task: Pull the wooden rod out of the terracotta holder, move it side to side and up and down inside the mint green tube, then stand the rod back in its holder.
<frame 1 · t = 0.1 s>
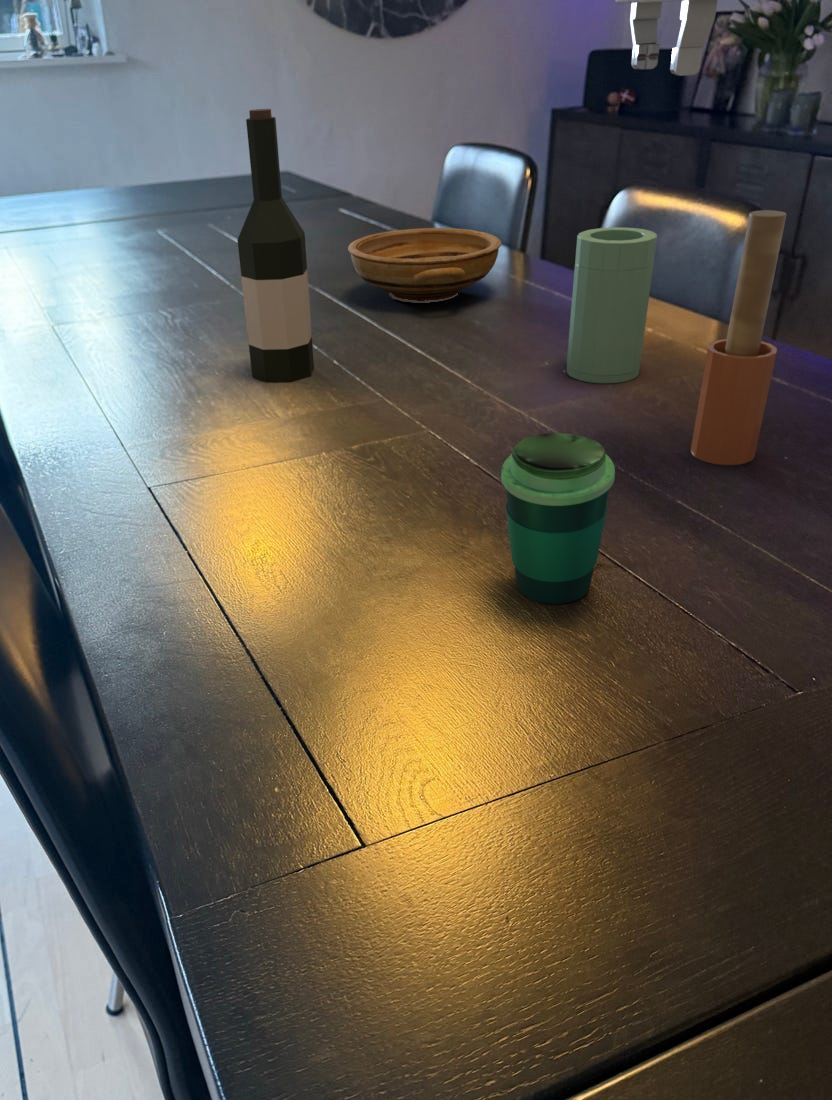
hand: (662, 72, 74), 34 cm above the table, tool pointing down, fingers open, 8 cm apart
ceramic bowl: (424, 296, 151), on the table
wooden rod: (722, 452, 92), point 1 cm above the table, touching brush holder
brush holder: (721, 458, 93), on the table
cup: (547, 594, 73), on the table
wine bottle: (283, 373, 122), on the table
mint green tube: (602, 371, 116), on the table
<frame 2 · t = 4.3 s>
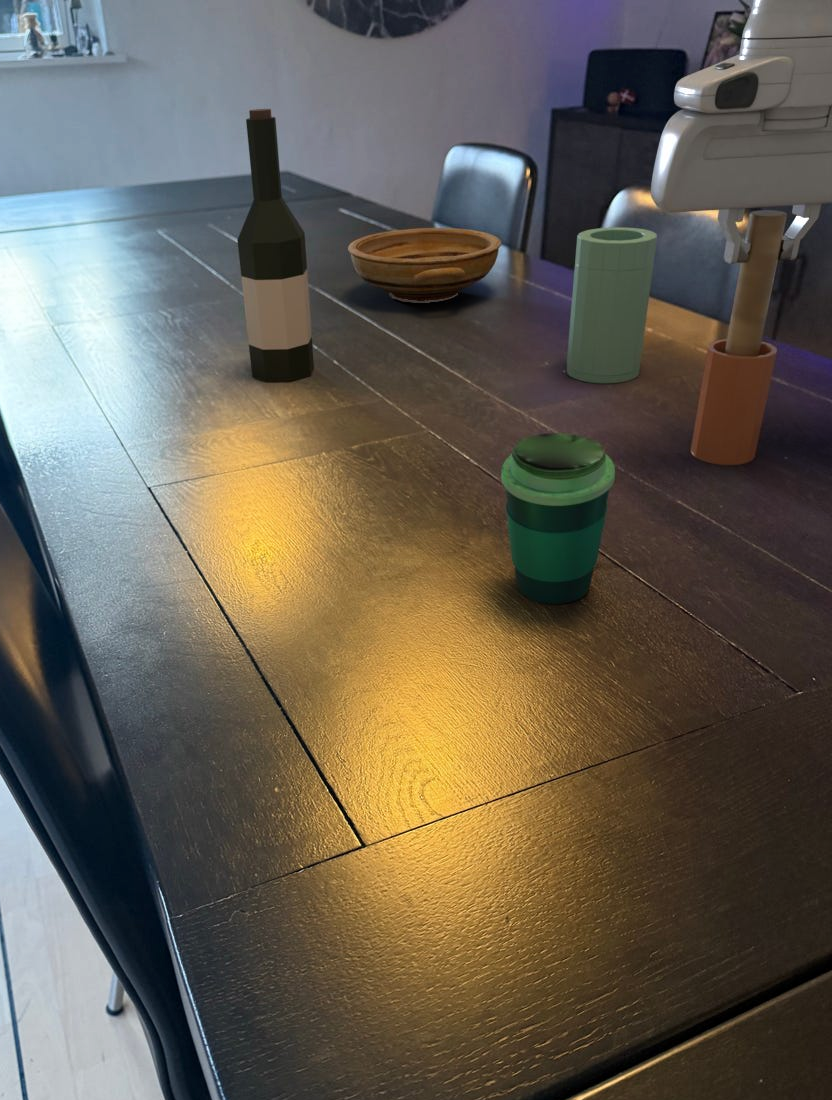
hand: (758, 260, 82), 19 cm above the table, tool pointing down, fingers closed on wooden rod, 3 cm apart
wooden rod: (722, 452, 92), point 1 cm above the table, touching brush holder, gripper
everything else where it was.
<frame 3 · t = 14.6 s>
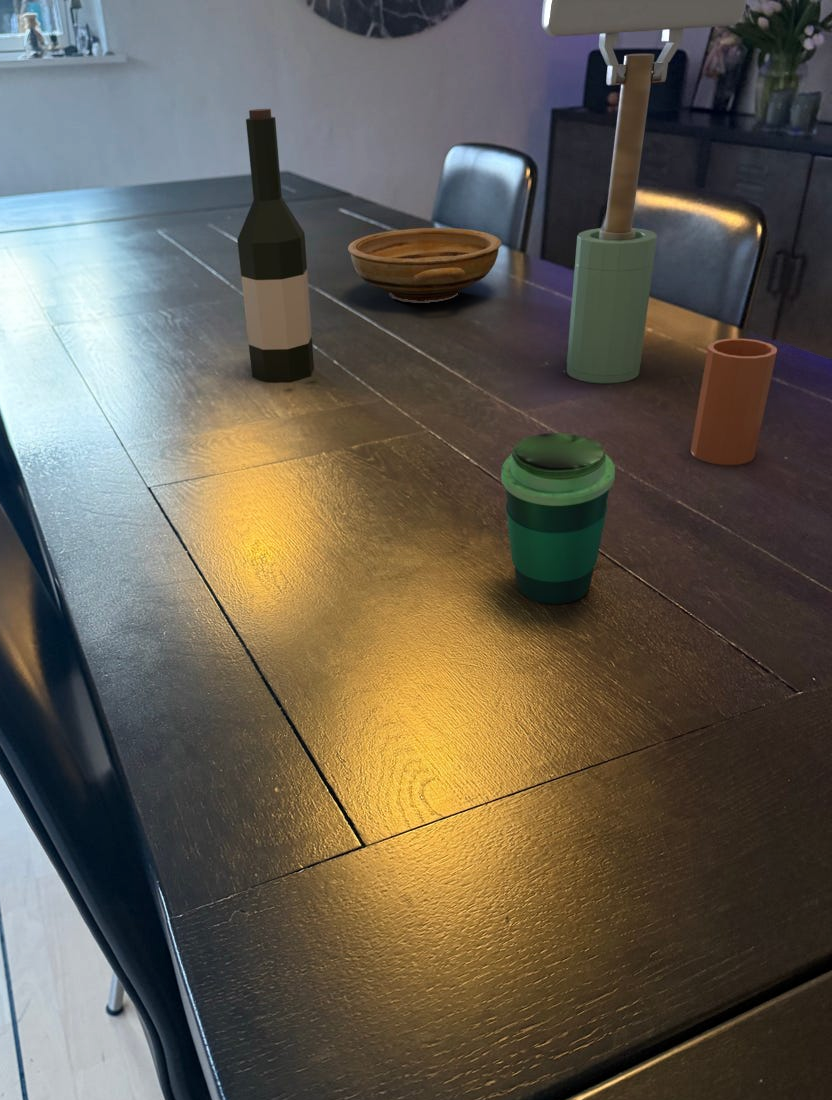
hand: (635, 83, 98), 31 cm above the table, tool pointing down, fingers closed on wooden rod, 3 cm apart
wooden rod: (612, 275, 109), point 12 cm above the table, touching gripper
everything else where it was.
when the fingers open (20 cm above the table, at t = 21.7 s): wooden rod stays where it is, resting on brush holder.
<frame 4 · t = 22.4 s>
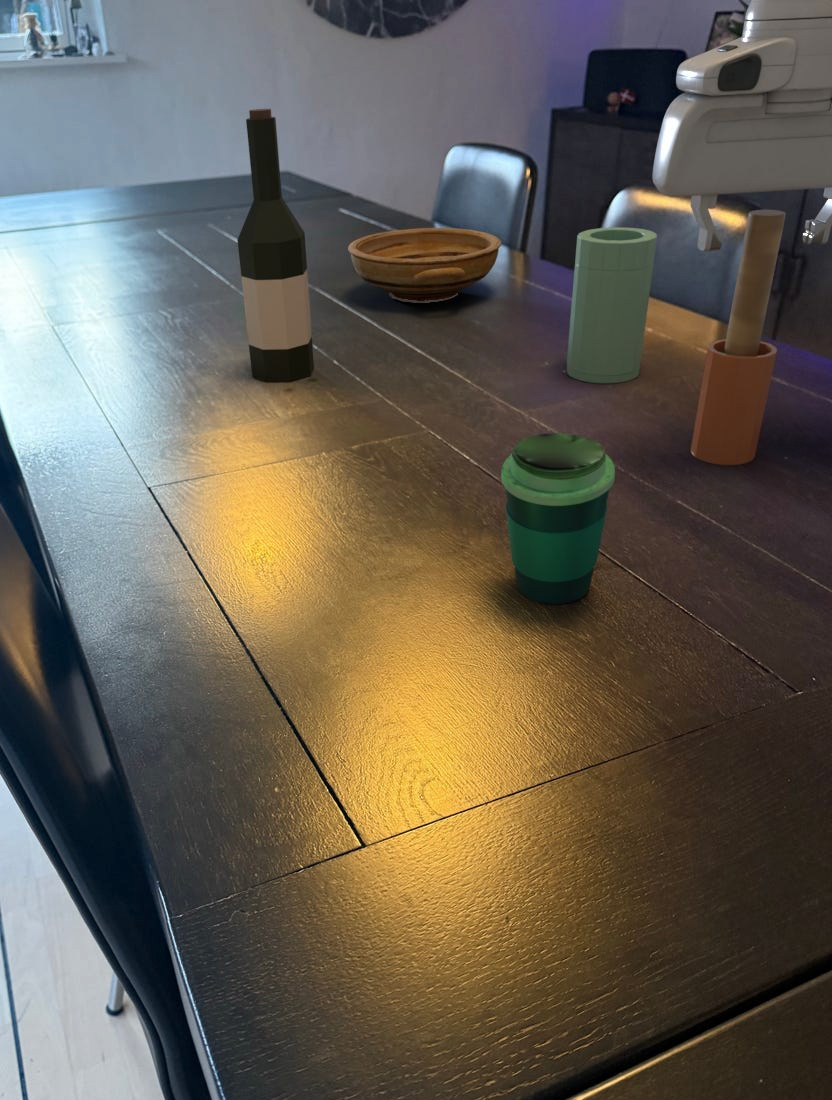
hand: (761, 246, 82), 20 cm above the table, tool pointing down, fingers open, 8 cm apart
wooden rod: (722, 451, 93), point 1 cm above the table, touching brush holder
everything else where it was.
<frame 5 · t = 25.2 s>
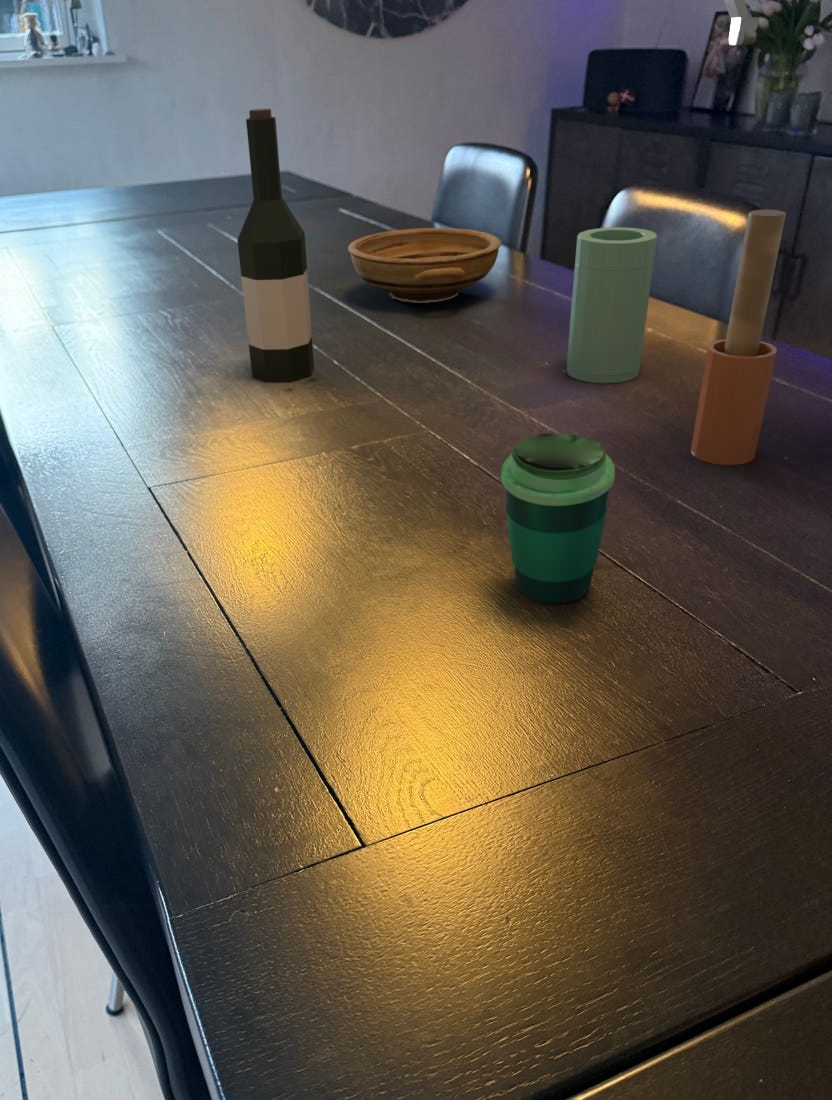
hand: (800, 41, 73), 35 cm above the table, tool pointing down, fingers open, 8 cm apart
nothing on the table moved.
at the end: wooden rod 0.3 cm off-centre in the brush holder, point 0.6 cm above the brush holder's base; wooden rod tilted 0°; wooden rod touching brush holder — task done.
